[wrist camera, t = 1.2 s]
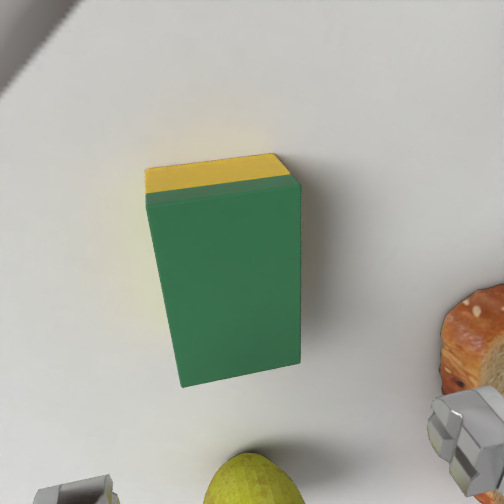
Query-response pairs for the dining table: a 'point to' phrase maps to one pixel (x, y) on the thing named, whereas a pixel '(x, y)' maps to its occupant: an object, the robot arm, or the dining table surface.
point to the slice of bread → (475, 350)
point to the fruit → (251, 483)
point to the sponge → (228, 264)
